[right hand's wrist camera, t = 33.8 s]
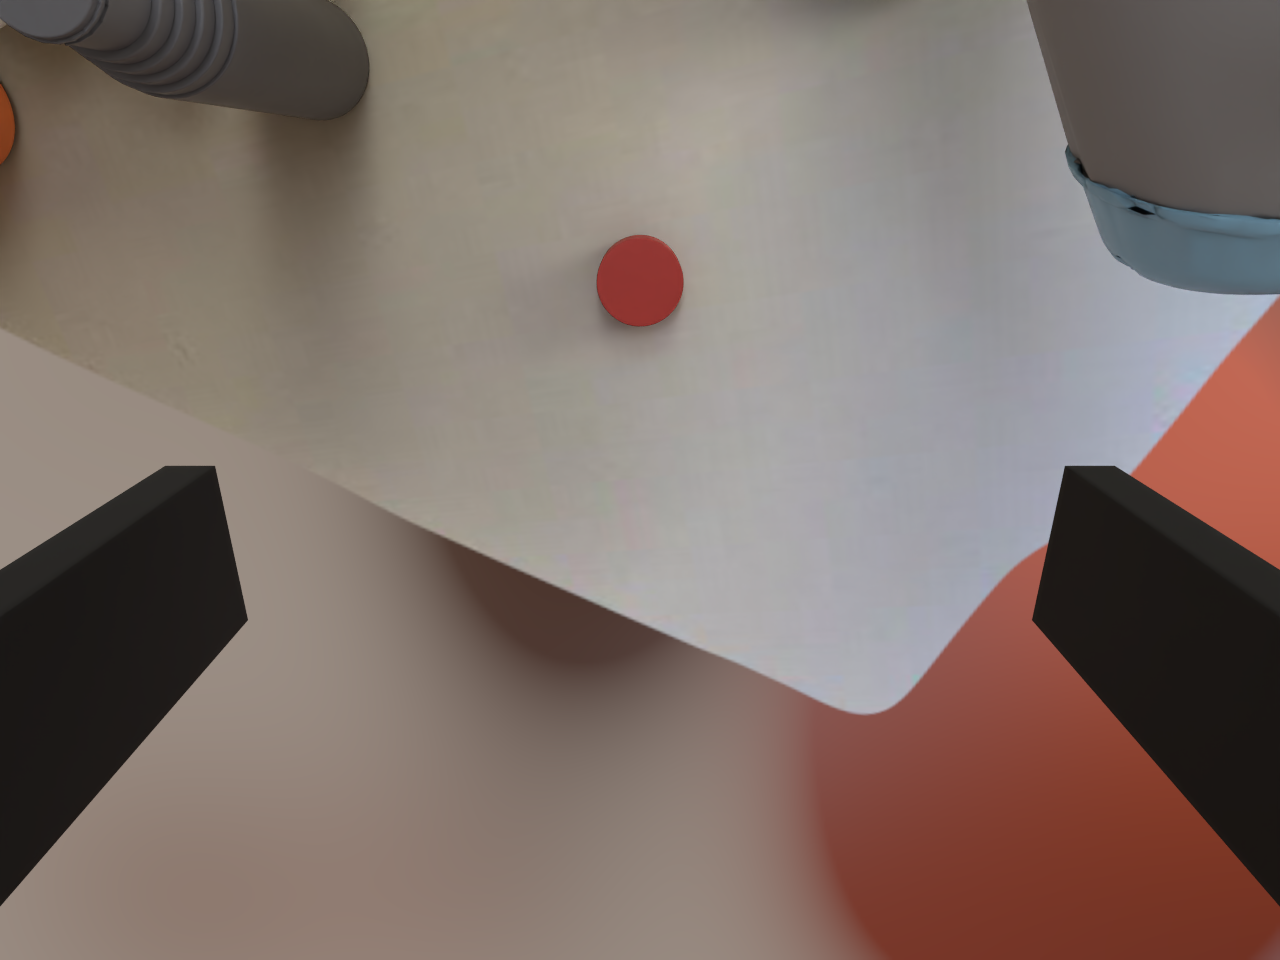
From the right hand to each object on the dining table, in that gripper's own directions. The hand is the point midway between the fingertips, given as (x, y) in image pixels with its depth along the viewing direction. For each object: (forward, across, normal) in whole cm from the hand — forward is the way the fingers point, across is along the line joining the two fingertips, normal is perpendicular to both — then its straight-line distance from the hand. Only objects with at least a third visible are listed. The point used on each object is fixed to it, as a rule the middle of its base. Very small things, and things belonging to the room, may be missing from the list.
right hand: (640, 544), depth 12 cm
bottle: (+32, +16, -10) cm, 38 cm away
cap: (+31, 0, 0) cm, 31 cm away
